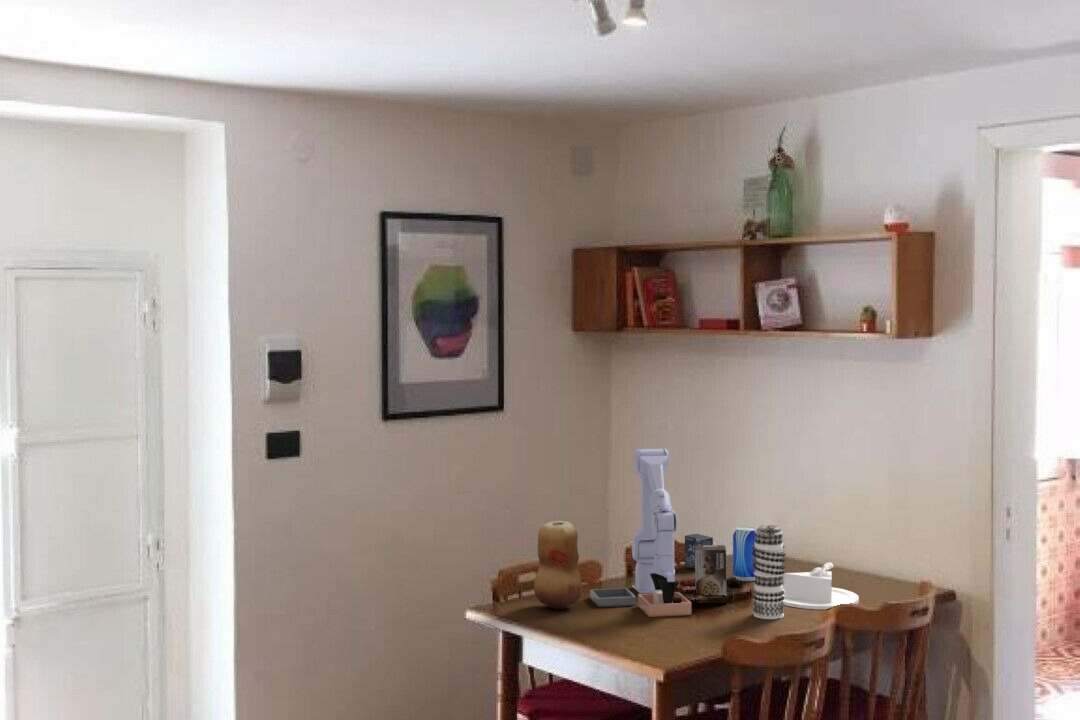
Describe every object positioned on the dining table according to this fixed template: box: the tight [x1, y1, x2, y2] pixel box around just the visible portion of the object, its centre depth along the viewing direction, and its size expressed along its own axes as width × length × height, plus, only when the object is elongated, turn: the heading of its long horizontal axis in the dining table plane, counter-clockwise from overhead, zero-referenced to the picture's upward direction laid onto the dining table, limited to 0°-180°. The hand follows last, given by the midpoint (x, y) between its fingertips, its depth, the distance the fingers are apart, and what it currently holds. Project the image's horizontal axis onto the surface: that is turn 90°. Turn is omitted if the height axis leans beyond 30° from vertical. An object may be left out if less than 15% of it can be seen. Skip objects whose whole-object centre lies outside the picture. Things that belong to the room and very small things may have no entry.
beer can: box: [732, 525, 758, 582], centre depth 392 cm, size 8×8×16 cm
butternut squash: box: [533, 520, 583, 610], centre depth 357 cm, size 14×13×25 cm
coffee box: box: [694, 544, 728, 596], centre depth 363 cm, size 9×6×16 cm
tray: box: [589, 587, 637, 608], centre depth 364 cm, size 11×11×2 cm
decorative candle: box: [752, 524, 786, 620], centre depth 347 cm, size 9×9×25 cm
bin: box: [637, 591, 692, 618], centre depth 353 cm, size 12×12×4 cm
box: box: [684, 533, 714, 570], centre depth 408 cm, size 8×6×11 cm
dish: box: [782, 561, 860, 610], centre depth 365 cm, size 25×25×11 cm
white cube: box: [652, 590, 673, 604], centre depth 353 cm, size 4×4×5 cm
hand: (664, 601), depth 353 cm, fingers open, 7 cm apart
